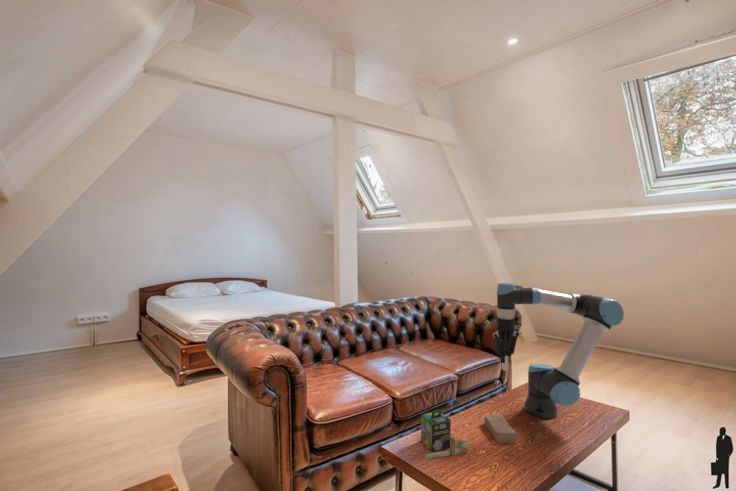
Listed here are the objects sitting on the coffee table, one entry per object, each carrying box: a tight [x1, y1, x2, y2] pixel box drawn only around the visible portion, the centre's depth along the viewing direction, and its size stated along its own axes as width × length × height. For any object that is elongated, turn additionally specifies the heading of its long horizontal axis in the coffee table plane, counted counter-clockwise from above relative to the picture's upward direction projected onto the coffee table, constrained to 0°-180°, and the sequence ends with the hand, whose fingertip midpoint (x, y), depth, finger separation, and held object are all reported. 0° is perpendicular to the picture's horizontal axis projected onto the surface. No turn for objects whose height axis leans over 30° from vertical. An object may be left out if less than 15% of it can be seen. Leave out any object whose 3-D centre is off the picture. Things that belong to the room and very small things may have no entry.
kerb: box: [424, 450, 451, 459], centre depth 144 cm, size 10×1×1 cm, turn 105°
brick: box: [483, 414, 517, 444], centre depth 162 cm, size 17×8×5 cm, turn 2°
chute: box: [450, 436, 469, 456], centre depth 154 cm, size 7×17×6 cm, turn 15°
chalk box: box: [420, 408, 452, 453], centre depth 152 cm, size 9×9×15 cm
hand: (504, 369), depth 166 cm, fingers closed
